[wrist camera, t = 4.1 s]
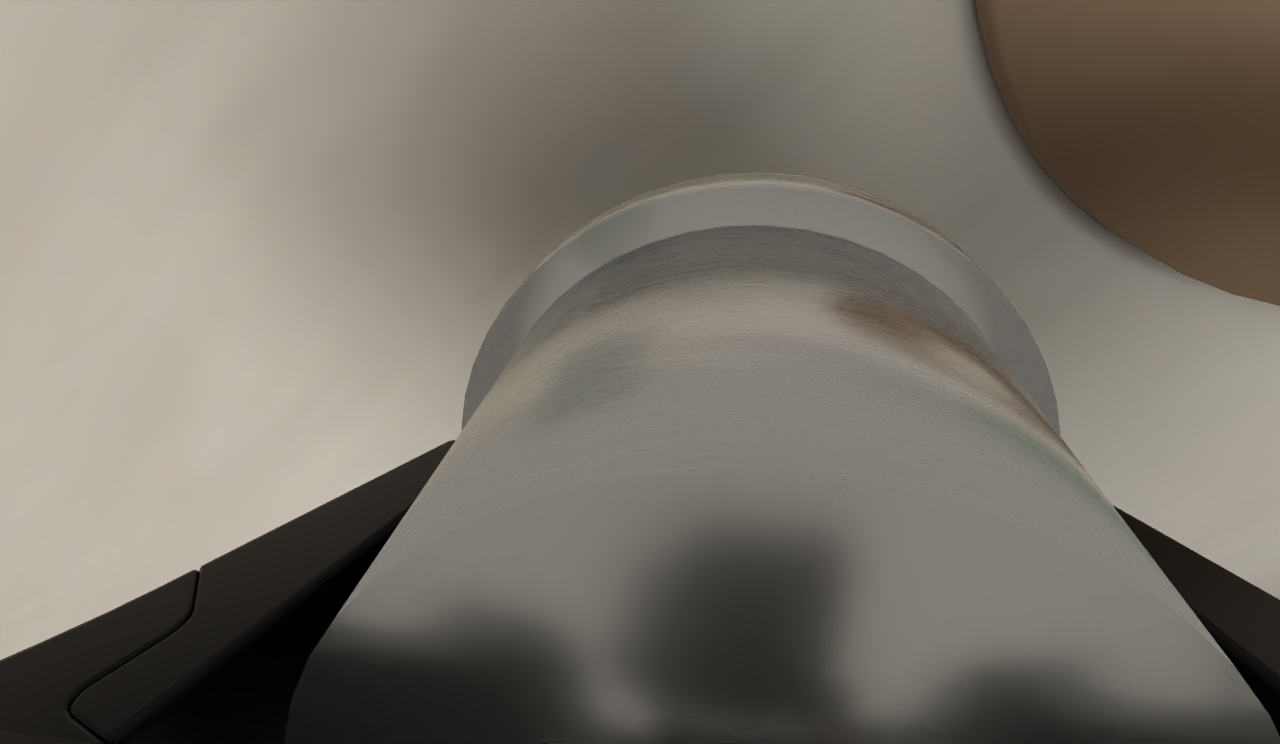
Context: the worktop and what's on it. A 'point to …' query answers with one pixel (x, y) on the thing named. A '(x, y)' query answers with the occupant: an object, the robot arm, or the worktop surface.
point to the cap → (764, 512)
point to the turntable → (1155, 123)
